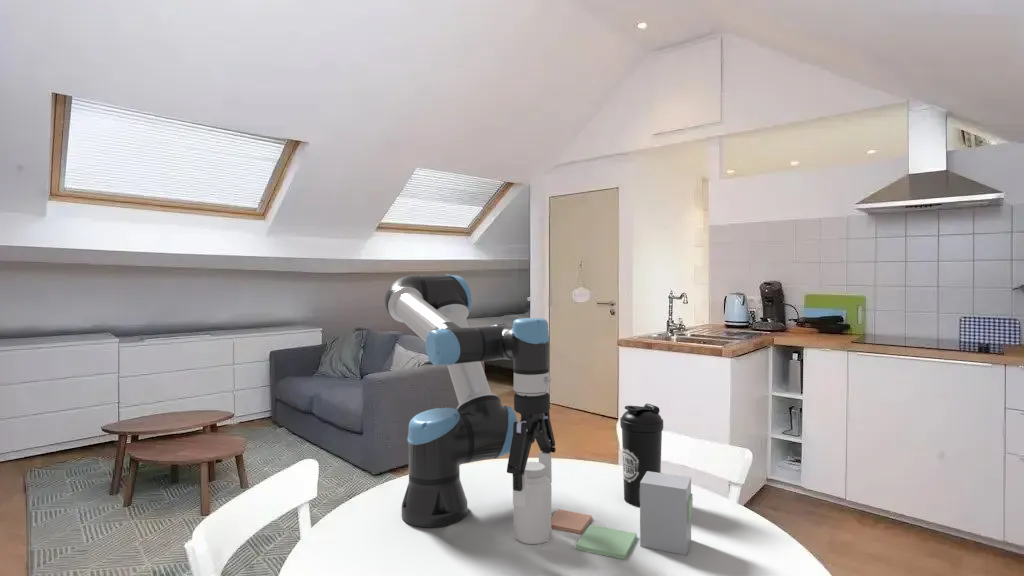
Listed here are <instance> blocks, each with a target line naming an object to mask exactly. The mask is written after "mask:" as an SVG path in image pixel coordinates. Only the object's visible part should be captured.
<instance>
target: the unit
mask: <svg viewBox="0 0 1024 576" xmlns="http://www.w3.org/2000/svg"><path fill="white" fill-rule="evenodd" d="M693 496H694V495H693V493H692V477H690V476H683V475H677V474H670V473H662V472H661V473H657V472H650V471H647V472H646V474H645V475H644V477H643V478H642V480H641V482H640V489H639V501H640V507H639V546H640V547H643V548H648V549H653V550H657V551H658V550H659V551H663V552H668V553H673V554H679V555H683V556H687V554H688V552H689V548H690V545H691V541H692V516H693V502H694V501H693Z"/></svg>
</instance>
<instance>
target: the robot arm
mask: <svg viewBox="0 0 1024 576" xmlns="http://www.w3.org/2000/svg"><path fill="white" fill-rule="evenodd" d="M471 296H472V291H471V288H470V286H469V283H467V281H466V280H465V278H463V277H461V276H459V275H456V274H455V275H452V274H448V273H447V274H443V275H430V274H429V275H412V274H411V275H406V276H403V277H400V278H397V279H396V280H395V281H393V282H392V283H391V284H390V285H389V286H388V288H387V290H386V292H385V294H384V298H383V300H384V302H383V303H384V307H385V311H387V313H388V315H389V316H390V317H391V318H392V319H394V320H395V321H396V322H399V323H404V324H405V325H406V326H407V327H408V328H409V329H410V330H412V331H413V332H414V333H415V334H416V335H417V336H418V337H419V338H420V339H421V340H422V341H424V343H425V352H426V356H427V358H428V361H429V362H430V363H431V364H432V365H434V366H446V367H447V369H448V372H449V376H450V378H451V383H452V385H453V388H454V391H455V395H456V399H457V402H458V406H457V407H456V408H454V407H443V408H440V407H436V408H431V409H427V410H424V411H422V412H419V413H417V414H416V415H414V416H413V417H412V418H411V419H410V421H409V423H408V433H407V444H408V446H407V447H408V449H407V450H408V483H407V487H406V490H405V493H404V497H403V500H402V503H401V518H402V520H403V521H404V523H407V524H409V525H411V526H415V527H419V528H441V527H446V526H450V525H453V524H456V523H458V522H460V521H461V520H463V519H464V518H465V517H466V516H467V514H468V499H467V496H466V494H465V491H464V488H463V485H462V481H461V477H460V476H461V474H460V467H461V466H460V465H465V464H469V463H475V462H479V461H485V460H489V459H499V457H503V456H506V455H507V456H508V459H507V461H508V462H507V466H506V467H507V468H506V473H507V474H512V506H514V505H516V506H522V507H526V506H527V473H524V471H525V467H526V464H527V462H528V461H529V460H528V459H529V455H530V451H531V449H532V448H531V447H532V444H534V443H535V441H536V444H537V446H538V448H539V450H540V451H539V452H538V463H542V464H543V465H544V466H545V477H547V478H548V479H549V480H550V482H551V484H552V479H553V478H552V473H553V472H552V453H553V454H554V453H556V447H555V446H556V441H555V436H554V431H553V427H552V423H551V418H550V410H551V395H550V393H549V390H550V382H552V378H551V377H550V339H551V338H550V333H549V323H548V321H547V320H546V319H544V318H540V317H536V318H535V317H523V318H520V317H519V318H516V319H513V323H512V325H511V324H510V325H509V324H505V323H501V324H499V323H498V324H492V325H490V326H489V325H488V326H471V327H469V325H468V321H467V318H468V317H469V315H470V314H469V313H470V311H471V309H472V304H473V300H472V299H473V298H472V297H471ZM498 360H510V361H513V391H514V392H515V393H514V394H513V408H512V407H511V406H509V405H503V403H502V401H501V398H500V396H499V395H498V394H495V393H492V391H491V388H490V385H489V382H488V380H487V376H486V372H485V370H484V367H483V365H482V362H489V361H498ZM516 413H518V414H520V421H518V416H517V414H516Z"/></svg>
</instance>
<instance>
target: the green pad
mask: <svg viewBox="0 0 1024 576" xmlns="http://www.w3.org/2000/svg"><path fill="white" fill-rule="evenodd" d="M637 534H638V533H637V532H631V531H627V530H623V529H622V530H621V529H616V528H611V527H606V526H601V525H595V524H590V523H589V526H588V527H587V528H586V529H585V531H584V532H583V534H582V536H580V539H579V540H578V541H577V542H576V543H575V550H577V551H584V552H588V553H593V554H597V555H601V556H602V555H603V556H607V557H610V558H611V557H612V558H616V559H620V560H626V558H627V557H628V556H629V555H628V554H629V553H630V551H631V549H632V547H633V545H634V543H635V541H636V539H637Z"/></svg>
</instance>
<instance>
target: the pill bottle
mask: <svg viewBox="0 0 1024 576" xmlns="http://www.w3.org/2000/svg"><path fill="white" fill-rule="evenodd" d="M524 473H527V506H526V507H522V506H516V505H513V536H514V538H515V539H516V540H517V541H518V542H521V543H523V544H527V545H538V544H543V543H545V542H548V541H549V540H550V538H551V536H552V528H551V517H552V483H551V482H550V480H549V479H548V478H547V477H545V466H544V465H543V464H542V463H539V461H538V462H537V461H527V464H526V467H525V471H524Z"/></svg>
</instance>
